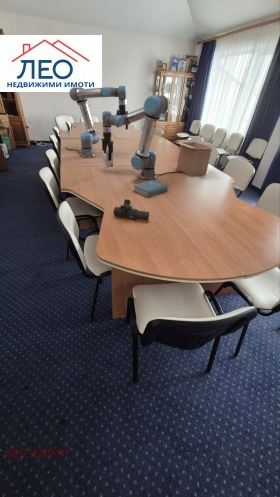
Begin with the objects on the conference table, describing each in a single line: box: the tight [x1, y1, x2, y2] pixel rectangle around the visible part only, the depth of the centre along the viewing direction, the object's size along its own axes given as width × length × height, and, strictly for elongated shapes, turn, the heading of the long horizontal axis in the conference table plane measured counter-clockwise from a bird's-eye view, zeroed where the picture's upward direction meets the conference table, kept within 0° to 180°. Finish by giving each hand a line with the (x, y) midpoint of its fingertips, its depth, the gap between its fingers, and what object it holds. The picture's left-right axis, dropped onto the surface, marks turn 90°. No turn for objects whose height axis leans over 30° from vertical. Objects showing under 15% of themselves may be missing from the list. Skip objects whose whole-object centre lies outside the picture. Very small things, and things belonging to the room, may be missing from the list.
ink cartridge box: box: [102, 150, 114, 169], centre depth 206 cm, size 9×5×15 cm, turn 137°
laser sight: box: [112, 199, 150, 222], centre depth 138 cm, size 10×22×10 cm, turn 78°
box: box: [174, 139, 220, 177], centre depth 220 cm, size 44×36×27 cm
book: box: [133, 179, 169, 198], centre depth 177 cm, size 23×16×5 cm
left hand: (122, 128), depth 235 cm, fingers open, 13 cm apart
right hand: (107, 159), depth 206 cm, fingers closed on ink cartridge box, 5 cm apart
